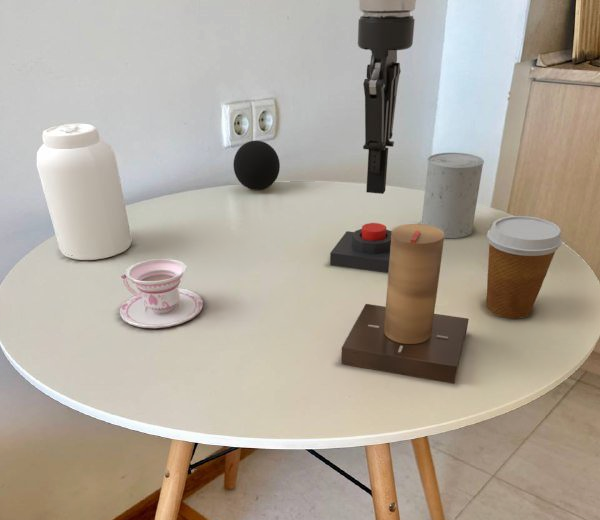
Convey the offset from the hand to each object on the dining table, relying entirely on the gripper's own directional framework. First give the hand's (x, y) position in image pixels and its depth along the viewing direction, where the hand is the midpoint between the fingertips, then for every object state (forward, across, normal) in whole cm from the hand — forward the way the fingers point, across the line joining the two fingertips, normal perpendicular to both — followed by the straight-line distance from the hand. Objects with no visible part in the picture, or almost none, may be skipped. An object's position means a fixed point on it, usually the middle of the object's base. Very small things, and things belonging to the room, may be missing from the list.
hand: (375, 191), depth 94 cm
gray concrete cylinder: (+11, +17, -10) cm, 23 cm away
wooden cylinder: (+9, -27, -11) cm, 30 cm away
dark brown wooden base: (+11, -27, -11) cm, 31 cm away
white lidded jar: (+12, -10, +48) cm, 50 cm away
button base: (+11, 0, 0) cm, 11 cm away
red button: (+8, 0, 0) cm, 8 cm away
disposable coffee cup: (+11, -12, -23) cm, 28 cm away
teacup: (+11, -27, +25) cm, 38 cm away
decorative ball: (+11, +29, +33) cm, 45 cm away
